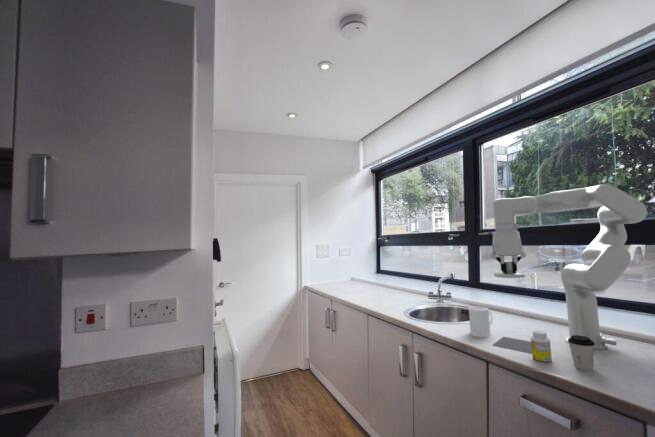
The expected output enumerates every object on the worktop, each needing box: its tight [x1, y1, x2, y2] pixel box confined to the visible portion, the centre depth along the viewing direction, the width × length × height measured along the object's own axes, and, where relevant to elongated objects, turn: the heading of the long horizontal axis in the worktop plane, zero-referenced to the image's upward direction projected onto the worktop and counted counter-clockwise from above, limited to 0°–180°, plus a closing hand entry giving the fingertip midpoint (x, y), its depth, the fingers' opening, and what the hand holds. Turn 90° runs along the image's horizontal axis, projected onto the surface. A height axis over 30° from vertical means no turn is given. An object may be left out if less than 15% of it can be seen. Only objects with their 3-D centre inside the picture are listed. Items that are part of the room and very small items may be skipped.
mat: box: [491, 336, 532, 355], centre depth 123 cm, size 14×14×1 cm
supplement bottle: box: [530, 330, 553, 364], centre depth 108 cm, size 6×6×10 cm
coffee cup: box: [568, 335, 595, 373], centre depth 101 cm, size 7×7×10 cm
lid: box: [493, 260, 526, 279], centre depth 125 cm, size 11×11×6 cm
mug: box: [468, 306, 493, 338], centre depth 138 cm, size 12×8×12 cm
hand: (509, 272), depth 125 cm, fingers closed on lid, 2 cm apart
